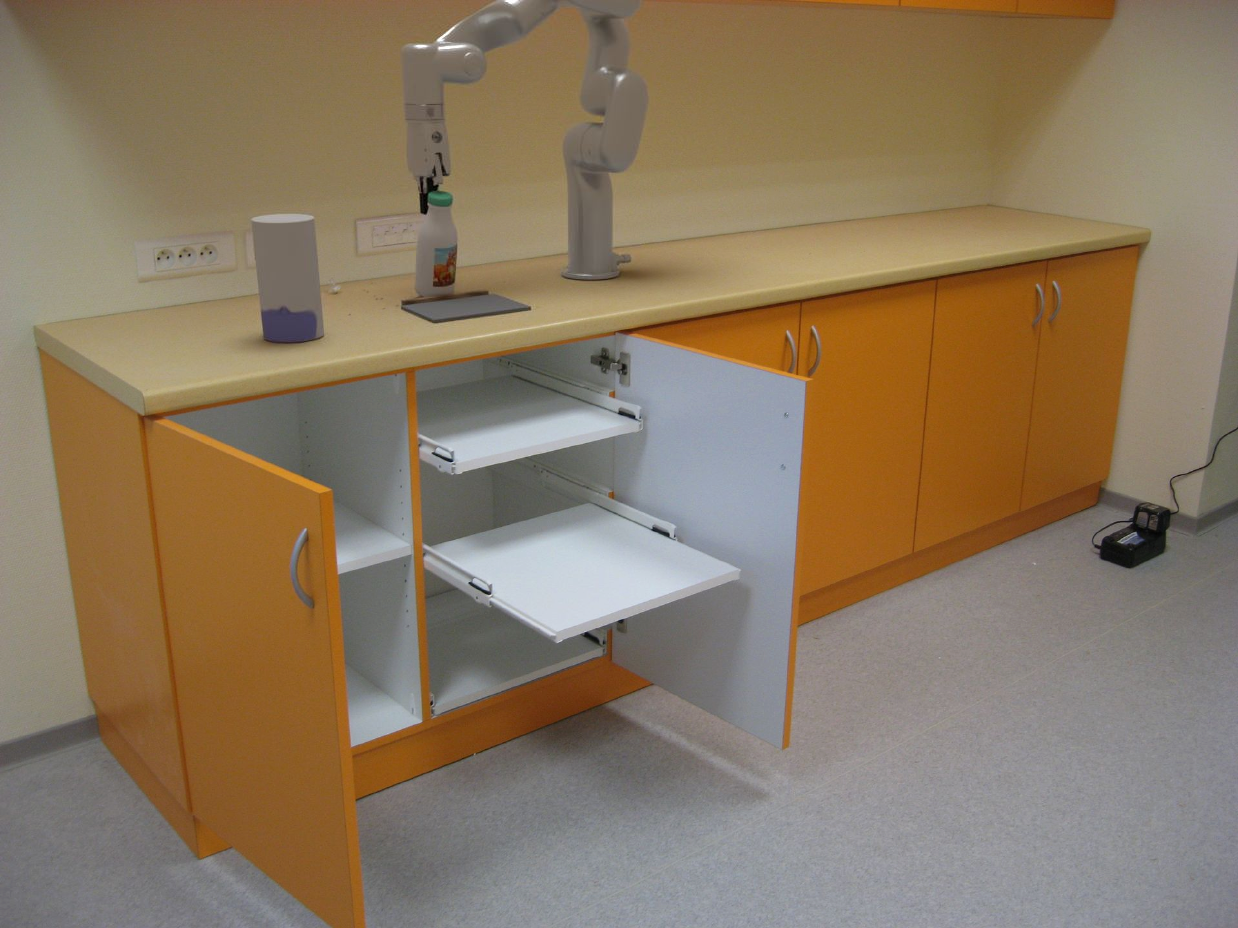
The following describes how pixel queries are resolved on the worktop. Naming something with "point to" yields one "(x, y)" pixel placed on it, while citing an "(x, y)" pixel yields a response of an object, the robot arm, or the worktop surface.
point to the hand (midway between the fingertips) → (429, 213)
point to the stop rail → (444, 297)
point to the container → (288, 277)
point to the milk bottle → (436, 248)
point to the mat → (465, 308)
